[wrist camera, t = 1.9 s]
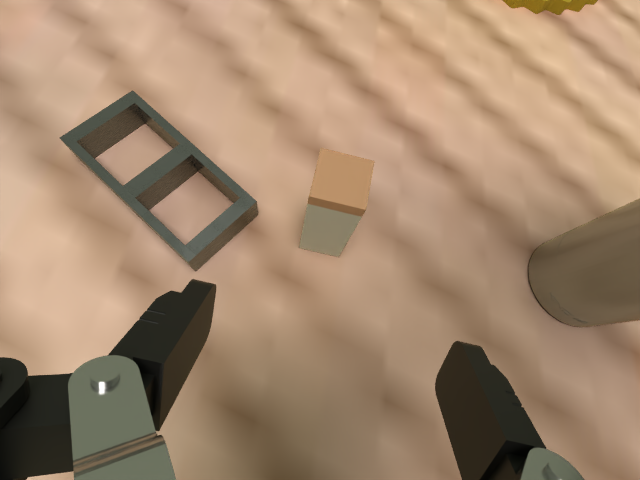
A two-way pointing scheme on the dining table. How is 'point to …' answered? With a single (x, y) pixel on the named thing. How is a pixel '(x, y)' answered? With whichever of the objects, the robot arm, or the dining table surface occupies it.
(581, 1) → the decorative plaque
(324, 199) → the two-tone square post
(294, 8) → the dining table surface
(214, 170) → the divided rectangular frame
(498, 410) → the robot arm
